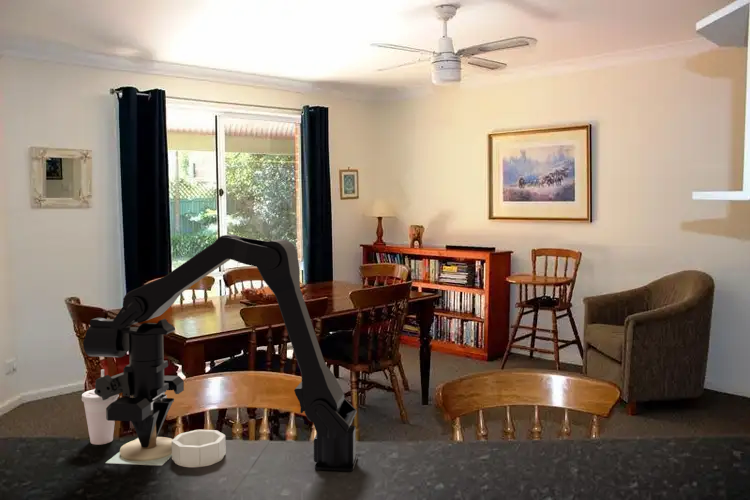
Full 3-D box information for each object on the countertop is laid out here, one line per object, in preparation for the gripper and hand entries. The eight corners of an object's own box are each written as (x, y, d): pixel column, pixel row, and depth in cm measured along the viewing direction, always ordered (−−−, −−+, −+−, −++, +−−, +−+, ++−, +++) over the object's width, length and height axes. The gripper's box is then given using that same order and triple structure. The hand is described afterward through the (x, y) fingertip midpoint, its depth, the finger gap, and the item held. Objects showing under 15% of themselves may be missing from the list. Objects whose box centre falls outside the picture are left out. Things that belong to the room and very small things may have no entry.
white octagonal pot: (230, 452, 118) (230, 430, 117) (214, 471, 109) (214, 447, 109) (185, 450, 118) (184, 429, 118) (165, 469, 110) (165, 446, 110)
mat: (188, 442, 122) (188, 439, 122) (161, 468, 110) (161, 465, 110) (137, 440, 123) (137, 437, 123) (105, 466, 111) (105, 462, 111)
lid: (185, 442, 121) (184, 416, 121) (163, 462, 111) (162, 434, 111) (135, 440, 122) (135, 414, 122) (109, 460, 112) (108, 432, 112)
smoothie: (111, 450, 119) (109, 374, 118) (76, 449, 119) (74, 374, 118) (125, 437, 125) (123, 365, 124) (92, 437, 125) (90, 365, 124)
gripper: (128, 345, 126) (130, 425, 127) (74, 370, 107) (77, 462, 108) (184, 346, 125) (185, 427, 126) (139, 371, 106) (141, 465, 107)
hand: (148, 444), depth 117 cm, fingers closed on lid, 3 cm apart
